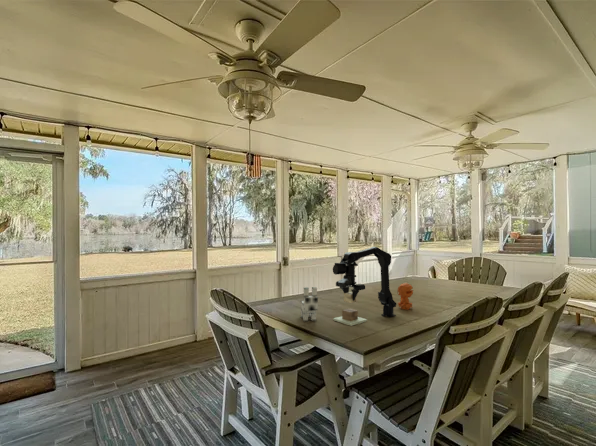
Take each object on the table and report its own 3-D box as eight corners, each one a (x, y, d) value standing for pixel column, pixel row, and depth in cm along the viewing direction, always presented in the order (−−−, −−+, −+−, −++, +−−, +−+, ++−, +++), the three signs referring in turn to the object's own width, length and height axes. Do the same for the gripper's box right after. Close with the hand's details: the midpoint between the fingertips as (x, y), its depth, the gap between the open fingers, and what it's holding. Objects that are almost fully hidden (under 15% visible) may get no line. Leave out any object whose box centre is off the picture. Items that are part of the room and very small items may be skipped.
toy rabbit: (311, 315, 199) (311, 283, 199) (318, 323, 181) (317, 288, 182) (300, 315, 197) (300, 283, 198) (305, 323, 180) (305, 289, 181)
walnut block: (349, 316, 191) (349, 308, 191) (357, 319, 186) (357, 310, 186) (342, 318, 187) (342, 310, 187) (350, 321, 182) (350, 312, 182)
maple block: (349, 300, 190) (349, 292, 190) (356, 301, 186) (356, 293, 186) (344, 301, 186) (344, 293, 187) (350, 303, 183) (350, 294, 183)
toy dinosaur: (416, 310, 209) (416, 283, 209) (400, 310, 209) (399, 283, 209) (410, 306, 220) (410, 280, 220) (395, 306, 220) (395, 280, 220)
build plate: (349, 316, 196) (349, 314, 196) (366, 321, 185) (366, 319, 185) (333, 320, 187) (333, 318, 187) (351, 325, 176) (351, 323, 176)
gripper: (329, 273, 189) (329, 299, 188) (353, 276, 174) (353, 304, 174) (341, 271, 196) (342, 296, 195) (365, 274, 181) (365, 301, 181)
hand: (350, 299), depth 186 cm, fingers closed on maple block, 5 cm apart
